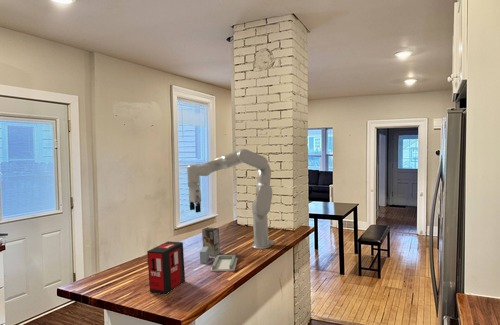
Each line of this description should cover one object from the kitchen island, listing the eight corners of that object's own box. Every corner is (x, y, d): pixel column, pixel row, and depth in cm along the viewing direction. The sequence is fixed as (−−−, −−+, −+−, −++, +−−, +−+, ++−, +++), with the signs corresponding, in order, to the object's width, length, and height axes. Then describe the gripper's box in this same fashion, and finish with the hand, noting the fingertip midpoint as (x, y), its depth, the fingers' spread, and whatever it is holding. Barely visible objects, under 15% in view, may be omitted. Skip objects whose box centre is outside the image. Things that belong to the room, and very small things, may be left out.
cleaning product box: (165, 295, 158) (163, 252, 156) (149, 292, 161) (147, 251, 160) (185, 281, 173) (182, 242, 172) (170, 279, 176) (168, 241, 175)
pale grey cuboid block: (209, 257, 208) (208, 246, 208) (206, 263, 198) (205, 251, 198) (203, 257, 208) (203, 246, 208) (200, 263, 198) (199, 251, 198)
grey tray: (237, 259, 202) (237, 254, 202) (234, 270, 184) (234, 265, 184) (215, 260, 203) (215, 255, 202) (210, 271, 185) (210, 266, 184)
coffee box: (220, 253, 216) (219, 228, 215) (215, 256, 210) (213, 230, 209) (208, 251, 220) (207, 227, 219) (202, 254, 214) (201, 229, 213)
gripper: (204, 184, 211) (206, 212, 212) (194, 182, 226) (195, 208, 227) (193, 186, 208) (194, 213, 208) (183, 183, 222) (184, 209, 223)
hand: (195, 210), depth 218 cm, fingers open, 9 cm apart
